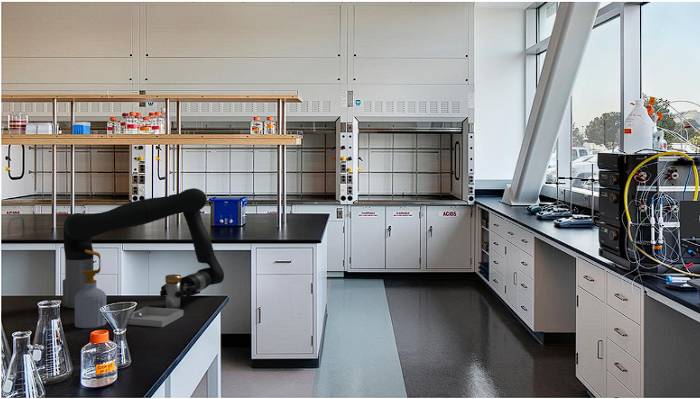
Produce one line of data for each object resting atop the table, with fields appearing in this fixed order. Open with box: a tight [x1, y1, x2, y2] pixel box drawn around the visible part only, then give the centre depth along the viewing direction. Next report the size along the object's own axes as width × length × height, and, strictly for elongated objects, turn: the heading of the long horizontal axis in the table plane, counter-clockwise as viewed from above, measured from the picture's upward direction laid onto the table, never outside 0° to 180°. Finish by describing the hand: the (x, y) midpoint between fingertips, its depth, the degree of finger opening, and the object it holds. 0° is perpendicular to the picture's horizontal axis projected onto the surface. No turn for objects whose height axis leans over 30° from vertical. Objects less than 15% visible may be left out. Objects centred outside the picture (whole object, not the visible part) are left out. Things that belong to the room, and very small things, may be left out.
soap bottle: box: [74, 250, 107, 329], centre depth 181 cm, size 9×9×25 cm
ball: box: [133, 312, 143, 318], centre depth 186 cm, size 3×3×3 cm
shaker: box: [164, 274, 182, 310], centre depth 201 cm, size 5×5×13 cm
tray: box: [127, 306, 184, 328], centre depth 188 cm, size 14×14×3 cm
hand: (169, 294), depth 198 cm, fingers open, 5 cm apart
